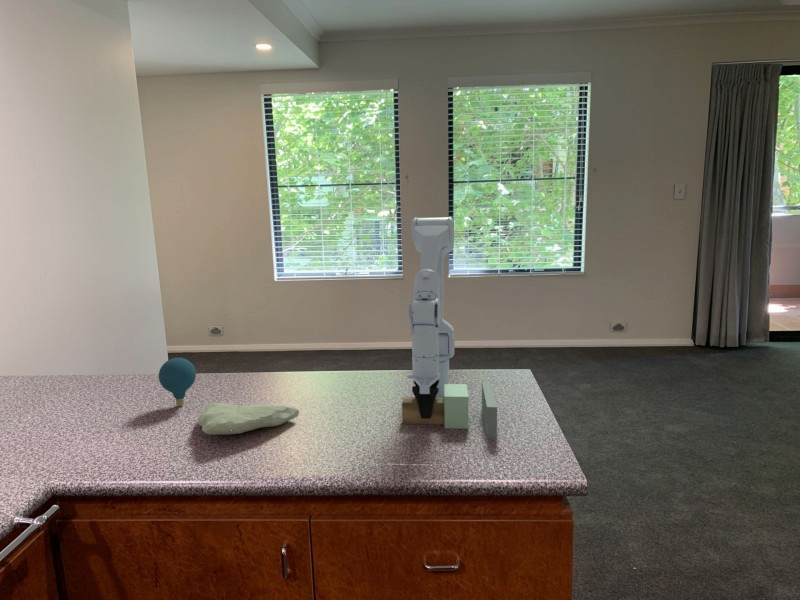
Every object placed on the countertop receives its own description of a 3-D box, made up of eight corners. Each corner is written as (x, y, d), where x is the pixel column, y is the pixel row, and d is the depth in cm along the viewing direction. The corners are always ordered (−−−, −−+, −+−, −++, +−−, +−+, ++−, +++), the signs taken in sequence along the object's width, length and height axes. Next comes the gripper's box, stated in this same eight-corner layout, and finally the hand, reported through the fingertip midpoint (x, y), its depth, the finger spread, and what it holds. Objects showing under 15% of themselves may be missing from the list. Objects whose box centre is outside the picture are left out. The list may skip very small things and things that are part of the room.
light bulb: (173, 414, 126) (168, 365, 123) (155, 407, 131) (150, 359, 128) (205, 404, 132) (201, 356, 130) (186, 397, 137) (182, 352, 135)
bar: (403, 418, 120) (403, 396, 119) (457, 418, 119) (457, 397, 118) (402, 424, 117) (402, 402, 116) (457, 425, 116) (457, 403, 115)
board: (481, 410, 124) (481, 381, 123) (490, 410, 124) (490, 381, 123) (486, 440, 108) (487, 407, 107) (496, 440, 108) (497, 407, 107)
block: (444, 414, 122) (444, 384, 121) (466, 414, 121) (466, 384, 120) (444, 428, 114) (444, 396, 113) (468, 428, 113) (468, 396, 112)
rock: (209, 420, 128) (153, 440, 108) (210, 395, 128) (154, 410, 108) (303, 427, 123) (263, 449, 103) (304, 400, 123) (263, 417, 103)
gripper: (409, 345, 123) (410, 402, 125) (404, 364, 109) (405, 427, 111) (440, 345, 122) (440, 402, 125) (439, 364, 108) (439, 427, 111)
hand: (426, 414), depth 118 cm, fingers closed on bar, 3 cm apart
